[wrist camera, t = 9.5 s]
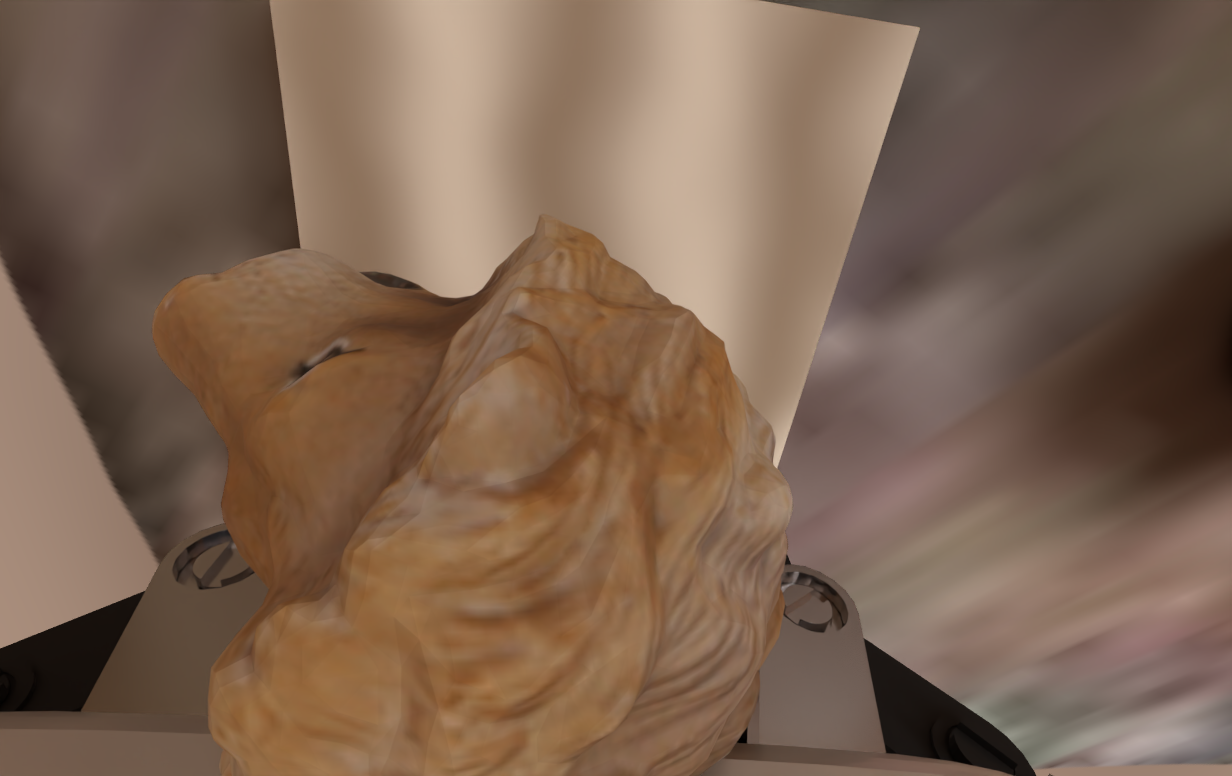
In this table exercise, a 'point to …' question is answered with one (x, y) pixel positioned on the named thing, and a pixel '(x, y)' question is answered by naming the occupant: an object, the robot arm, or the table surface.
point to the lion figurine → (482, 518)
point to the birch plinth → (599, 149)
